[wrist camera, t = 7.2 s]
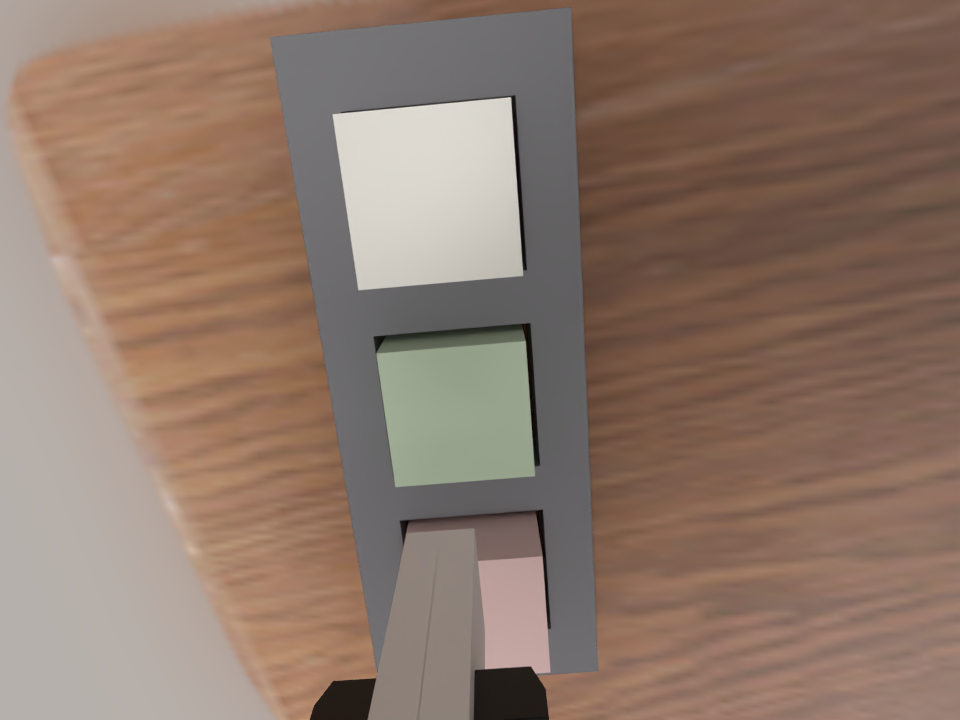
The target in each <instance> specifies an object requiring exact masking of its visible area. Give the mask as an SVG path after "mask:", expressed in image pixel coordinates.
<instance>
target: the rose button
mask: <svg viewBox="0 0 960 720" xmlns="http://www.w3.org/2000/svg"><path fill="white" fill-rule="evenodd" d="M471 528H474V529H475V538H476V548H477V558H478V567H479V577H480V586H481V596H482V606H483V615H484V625H485V669H497V668H512V667H527V666H531V667H532V669H533V670H534V672H535V673H551V672H550V657H549V643H548V628H547V613H546V599H545V584H544V570H543V556H542V549H541V543H540V536H539V530H538V524H537V517H536V511H535V510H531V511H518V512H505V513H492V514H479V515H466V516H453V517H440V518H427V519H414V520H409V522H408V527H407V532H406V535H407V533H417V532H430V531H444V530H457V529H471ZM405 540H406V537H405ZM404 545H405V542H404ZM403 550H404V547H403ZM402 554H403V552H402ZM401 559H402V557H401ZM400 564H401V562H400ZM399 568H400V566H399Z"/></svg>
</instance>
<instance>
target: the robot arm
mask: <svg viewBox="0 0 960 720" xmlns="http://www.w3.org/2000/svg"><path fill="white" fill-rule="evenodd" d="M310 720H549V716H548V707H547V698H546V690H545V687H544V686H543V684H542V683H541V681H540V680H539V678H538V677H537V675H536V673H535V672H534V670H533V669H532V667H531V666H527V667H512V668H497V669H485V625H484V615H483V606H482V596H481V586H480V577H479V567H478V558H477V548H476V538H475V529H474V528H471V529H457V530H444V531H430V532H417V533H407V535H406V540H405V545H404V550H403V554H402V559H401V564H400V569H399V573H398V578H397V583H396V588H395V592H394V597H393V602H392V607H391V611H390V616H389V621H388V626H387V630H386V635H385V640H384V645H383V649H382V654H381V659H380V663H379V668H378V673H377V678H374V679H359V680H344V681H333V682H332V683H331V685H330V686H329V687H328V689H327V690H326V691H325V692H324V694H323V695H322V696H321V698H320V699H319V700H318V702H317V703H316V704H315V705H314V708H313V711H312V714H311V717H310Z"/></svg>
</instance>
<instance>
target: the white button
mask: <svg viewBox="0 0 960 720" xmlns="http://www.w3.org/2000/svg"><path fill="white" fill-rule="evenodd" d="M333 121H334V128H335V135H336V141H337V148H338V155H339V162H340V169H341V175H342V182H343V189H344V196H345V202H346V209H347V216H348V223H349V230H350V236H351V243H352V250H353V257H354V264H355V270H356V277H357V284H358V290H368V289H379V288H391V287H402V286H413V285H425V284H436V283H448V282H459V281H471V280H482V279H493V278H505V277H516V276H523V266H522V251H521V237H520V222H519V207H518V193H517V178H516V164H515V149H514V134H513V120H512V105H511V97H508V98H498V99H487V100H477V101H467V102H456V103H446V104H435V105H425V106H414V107H404V108H393V109H383V110H372V111H362V112H351V113H341V114H333Z"/></svg>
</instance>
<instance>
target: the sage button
mask: <svg viewBox="0 0 960 720" xmlns="http://www.w3.org/2000/svg"><path fill="white" fill-rule="evenodd" d="M376 355H377V362H378V369H379V376H380V383H381V390H382V397H383V404H384V411H385V418H386V425H387V432H388V439H389V446H390V453H391V460H392V467H393V474H394V481H395V487H404V486H417V485H430V484H443V483H455V482H468V481H481V480H494V479H506V478H519V477H532V476H535V467H534V453H533V439H532V424H531V410H530V395H529V381H528V367H527V352H526V340H525V336H524V332H523V328H522V324H512V325H500V326H488V327H477V328H465V329H453V330H442V331H430V332H418V333H406V334H395V335H386V337H385V339H384V341H383V342H382V344H381V346H380V348H379V350H378V351H377V353H376Z"/></svg>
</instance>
